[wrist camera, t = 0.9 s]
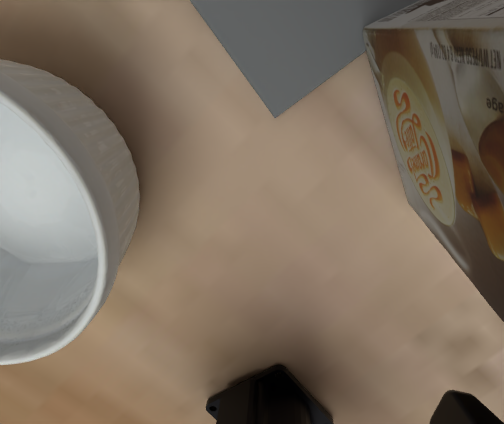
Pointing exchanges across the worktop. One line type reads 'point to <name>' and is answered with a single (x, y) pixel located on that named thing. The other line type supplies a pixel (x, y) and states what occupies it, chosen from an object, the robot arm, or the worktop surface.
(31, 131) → the ramekin
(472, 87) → the coffee box
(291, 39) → the mat
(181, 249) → the worktop surface
